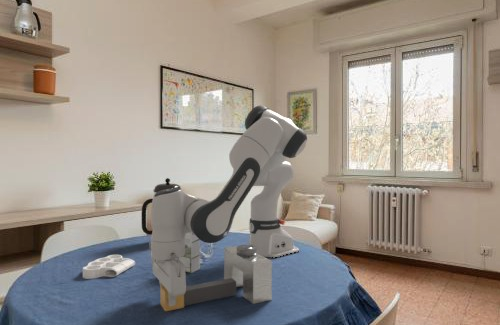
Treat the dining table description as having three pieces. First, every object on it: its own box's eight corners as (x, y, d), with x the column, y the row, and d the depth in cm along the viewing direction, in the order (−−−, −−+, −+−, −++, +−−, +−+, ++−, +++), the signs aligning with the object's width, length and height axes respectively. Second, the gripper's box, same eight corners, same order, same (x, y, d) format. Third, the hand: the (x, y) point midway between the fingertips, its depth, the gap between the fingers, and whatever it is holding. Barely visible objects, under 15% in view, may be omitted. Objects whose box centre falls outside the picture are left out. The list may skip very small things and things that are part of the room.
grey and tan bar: (230, 290, 105) (230, 273, 104) (237, 296, 100) (237, 279, 100) (160, 304, 94) (160, 285, 94) (165, 311, 90) (165, 292, 90)
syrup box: (200, 268, 125) (200, 228, 124) (191, 273, 119) (191, 231, 119) (187, 266, 127) (187, 226, 127) (177, 271, 122) (177, 230, 121)
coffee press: (156, 237, 171) (156, 177, 170) (188, 239, 169) (188, 177, 168) (140, 246, 154) (140, 179, 153) (175, 248, 152) (175, 179, 151)
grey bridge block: (240, 278, 114) (240, 239, 114) (271, 299, 98) (272, 253, 98) (224, 281, 112) (224, 241, 111) (253, 304, 95) (253, 256, 95)
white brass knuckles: (111, 282, 112) (71, 278, 115) (139, 265, 130) (104, 262, 133) (111, 271, 112) (71, 268, 115) (139, 256, 130) (104, 253, 133)
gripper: (192, 257, 85) (192, 313, 85) (169, 239, 103) (169, 286, 103) (167, 261, 82) (167, 319, 82) (147, 242, 100) (147, 290, 100)
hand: (168, 300), depth 93 cm, fingers closed on grey and tan bar, 5 cm apart
